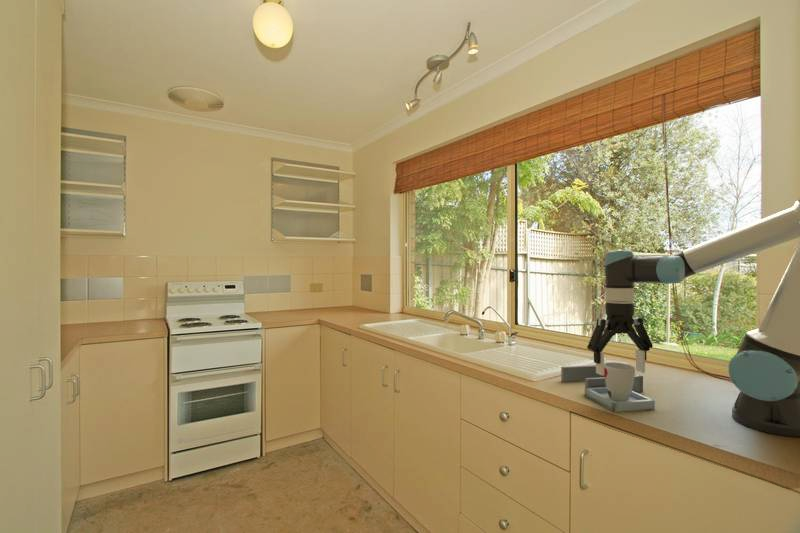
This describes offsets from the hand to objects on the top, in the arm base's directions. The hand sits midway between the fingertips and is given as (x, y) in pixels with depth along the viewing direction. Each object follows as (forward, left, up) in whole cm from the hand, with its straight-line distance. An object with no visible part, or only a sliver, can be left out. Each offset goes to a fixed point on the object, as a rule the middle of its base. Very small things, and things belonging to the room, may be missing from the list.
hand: (620, 373), depth 117 cm
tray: (0, 0, -9) cm, 9 cm away
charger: (+27, -20, -10) cm, 35 cm away
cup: (0, 0, -8) cm, 8 cm away
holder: (+15, -5, -9) cm, 18 cm away
